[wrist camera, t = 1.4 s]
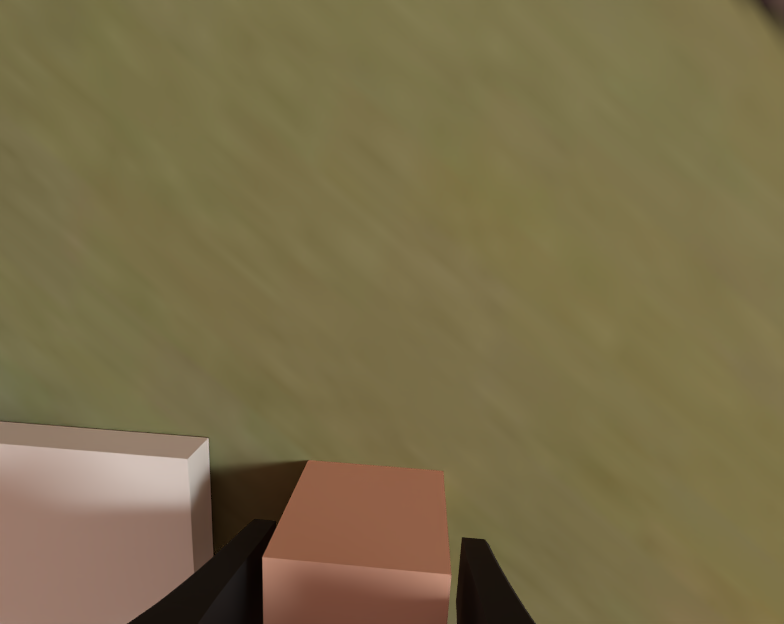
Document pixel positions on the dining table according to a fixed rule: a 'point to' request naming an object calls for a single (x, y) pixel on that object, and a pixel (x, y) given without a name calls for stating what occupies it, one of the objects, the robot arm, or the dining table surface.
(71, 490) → the baseplate
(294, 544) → the terracotta block
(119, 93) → the dining table surface
